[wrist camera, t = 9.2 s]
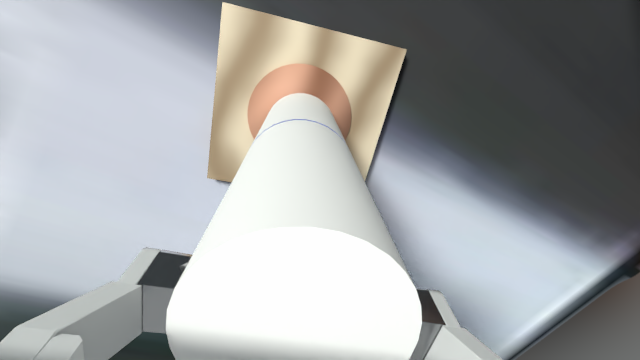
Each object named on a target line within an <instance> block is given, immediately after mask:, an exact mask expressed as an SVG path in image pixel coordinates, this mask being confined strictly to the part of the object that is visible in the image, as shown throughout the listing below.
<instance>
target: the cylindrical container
mask: <svg viewBox="0 0 640 360" xmlns="http://www.w3.org/2000/svg"><path fill="white" fill-rule="evenodd" d="M421 326H422V311H421V303H420V300H419V297H418V294H417V290H416V288H415V286H414V283H413V281H412V279H411V277H410V275H409V273H408V271H407V269H406V267H405V265H404V263H403V261H402V259H401V256H400V254H399V252H398V250H397V248H396V246H395V244H394V242H393V240H392V238H391V236H390V234H389V231H388V229H387V227H386V225H385V223H384V221H383V219H382V217H381V215H380V213H379V211H378V209H377V206H376V204H375V202H374V200H373V198H372V196H371V194H370V192H369V190H368V188H367V186H366V183H365V181H364V179H363V177H362V175H361V173H360V171H359V169H358V167H357V165H356V163H355V160H354V158H353V156H352V154H351V152H350V150H349V148H348V146H347V144H346V142H345V140H344V137H343V135H342V133H341V131H340V129H339V127H338V125H337V123H336V121H335V119H334V117H333V114H332V113H331V111H330V109H329V108H328V106H327V105H326V104H325V103H324V102H323V101H321V100H320V99H319V98H317V97H315V96H313V95H310V94H305V93H295V94H290V95H287V96H285V97H283V98H281V99H280V100H278V101H277V102H276V103H275V104H274V105H273V107H272V108H271V110H270V111H269V113H268V115H267V117H266V119H265V121H264V123H263V125H262V126H261V128H260V130H259V132H258V134H257V136H256V137H255V139H254V141H253V143H252V145H251V147H250V148H249V150H248V152H247V154H246V156H245V158H244V160H243V162H242V164H241V166H240V168H239V170H238V172H237V173H236V175H235V177H234V179H233V181H232V183H231V185H230V187H229V189H228V190H227V192H226V194H225V196H224V198H223V200H222V202H221V203H220V205H219V207H218V209H217V211H216V213H215V214H214V216H213V218H212V220H211V222H210V224H209V226H208V227H207V229H206V231H205V233H204V235H203V237H202V238H201V240H200V242H199V244H198V246H197V248H196V250H195V251H194V253H193V255H192V257H191V259H190V261H189V263H188V264H187V266H186V268H185V270H184V272H183V274H182V275H181V277H180V279H179V281H178V283H177V285H176V287H175V288H174V291H173V294H172V296H171V299H170V302H169V305H168V308H167V316H166V333H167V337H168V342H169V346H170V349H171V351H172V353H173V355H174V357H175V359H176V360H409V359H410V357H411V355H412V353H413V351H414V349H415V347H416V345H417V342H418V340H419V335H420V330H421Z"/></svg>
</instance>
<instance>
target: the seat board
mask: <svg viewBox="0 0 640 360" xmlns="http://www.w3.org/2000/svg"><path fill="white" fill-rule="evenodd" d="M405 53H406V49H402V48H398V47H395V46H391V45H387V44H383V43H379V42H375V41H371V40H367V39H364V38H360V37H356V36H352V35H348V34H344V33H340V32H336V31H333V30H329V29H325V28H321V27H317V26H313V25H309V24H305V23H302V22H298V21H294V20H290V19H286V18H282V17H278V16H274V15H271V14H267V13H263V12H259V11H255V10H251V9H247V8H243V7H240V6H236V5H232V4H228V3H224V2H223V3H222V15H221V26H220V37H219V49H218V60H217V72H216V83H215V95H214V106H213V118H212V129H211V140H210V152H209V163H208V175H207V178H210V179H216V180H221V181H227V182H232V181H233V179H234V177H235V175H236V173H237V172H238V170H239V168H240V166H241V164H242V162H243V160H244V158H245V156H246V154H247V152H248V150H249V148H250V147H251V145H252V143H253V141H254V139H255V137H256V136H257V134H258V132H259V130H260V128H261V126H262V125H263V123H264V121H265V119H266V117H267V115H268V113H269V111H270V110H271V108H272V107H273V105H274V104H275V103H276V102H277V101H278V100H280V99H281V98H283V97H285V96H287V95H290V94H295V93H305V94H310V95H313V96H315V97H317V98H319V99H320V100H321V101H323V102H324V103H325V104H326V105H327V106H328V108H329V109H330V111H331V113H332V114H333V117H334V119H335V121H336V123H337V125H338V127H339V129H340V131H341V133H342V135H343V137H344V140H345V142H346V144H347V146H348V148H349V150H350V152H351V154H352V156H353V158H354V160H355V163H356V165H357V167H358V169H359V171H360V173H361V175H362V177H363V179H364V181H365V180H366V176H367V173H368V170H369V167H370V164H371V161H372V158H373V154H374V151H375V148H376V145H377V142H378V139H379V135H380V132H381V129H382V126H383V123H384V120H385V116H386V113H387V110H388V107H389V104H390V101H391V98H392V94H393V91H394V88H395V85H396V82H397V79H398V75H399V72H400V69H401V66H402V63H403V60H404V57H405Z"/></svg>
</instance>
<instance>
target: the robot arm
mask: <svg viewBox="0 0 640 360" xmlns="http://www.w3.org/2000/svg"><path fill="white" fill-rule="evenodd" d="M191 257H192V255H190V254H185V253H179V252H173V251H167V250H160V249H154V248H148V247H146V248H144V249H142V250H141V251H140V253H139V254H138V255H137V257H136V258H135V259H134V260H133V262H132V263H131V264H130V266H129V267H128V268H127V269H126V271H125V272H124V273H123V275H122V276H121V277H120V278H119V280H118V281H117V282H112V281H111V282H109V283H107V284H105V285H103V286H101V287H99V288H97V289H94V290H92V291H90V292H88V293H86V294H84V295H82V296H80V297H78V298H76V299H73V300H71V301H69V302H67V303H65V304H63V305H61V306H59V307H57V308H54V309H52V310H50V311H48V312H46V313H44V314H42V315H40V316H38V317H36V318H33V319H31V320H29V321H27V322H25V323H23V324H21V325H19V326H17V327H15V328H14V329H13V330H12V331H11V332H10V333H9V334H8V335H7V336H6V337H5V338H4V339H3V340H2V341H1V342H0V360H108V359H109V358H110V357H112V356H113V355H114V354H115V353H117V352H118V351H119V350H121V349H122V348H123V347H124V346H126V345H127V344H128V343H129V342H131V341H132V340H133V339H135V338H136V337H137V336H138V335H140V334H141V333H142V331H145V332H157V333H166V316H167V308H168V305H169V302H170V299H171V296H172V294H173V291H174V288H175V287H176V285H177V283H178V281H179V279H180V277H181V275H182V274H183V272H184V270H185V268H186V266H187V264H188V263H189V261H190V259H191ZM416 290H417V294H418V297H419V300H420V303H421V311H422V326H421V330H420V335H419V340H418V342H417V345H416V347H415V349H414V351H413V353H412V355H411V357H410V359H409V360H503V359H501V358H500V357H499V356H498V355H497V354H495V353H494V352H493V351H492V350H491V349H489V348H488V347H487V346H486V345H485V344H483V343H482V342H481V341H480V340H479V339H477V338H476V337H475V336H474V335H472V334H471V333H470V332H469V331H468V330H466V329H465V328H461V327H460V325H459V323H458V321H457V319H456V318H455V316H454V314H453V312H452V310H451V309H450V307H449V305H448V303H447V301H446V300H445V298H444V296H443V294H442V293H441V292H440V291H436V290H428V289H419V288H416Z"/></svg>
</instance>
